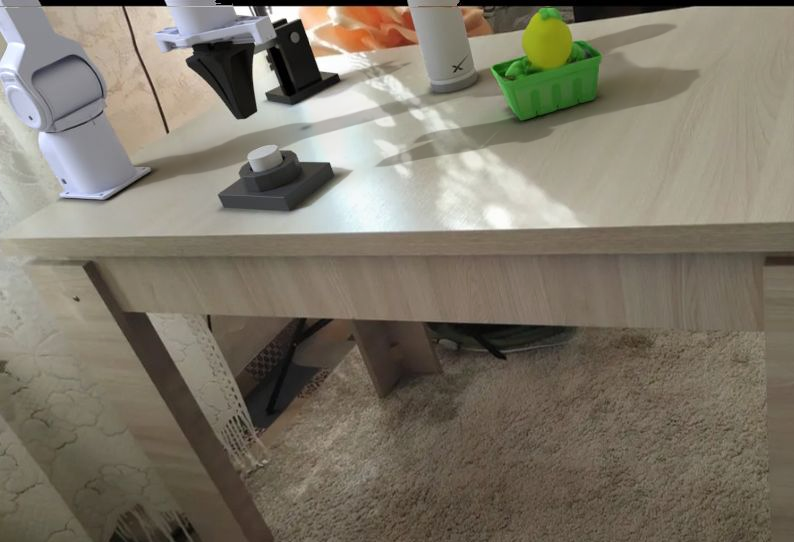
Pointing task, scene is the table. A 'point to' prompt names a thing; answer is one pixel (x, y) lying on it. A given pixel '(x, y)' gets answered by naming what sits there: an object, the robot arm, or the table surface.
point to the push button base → (276, 184)
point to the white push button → (265, 158)
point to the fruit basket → (548, 68)
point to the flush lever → (265, 46)
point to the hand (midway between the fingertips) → (247, 115)
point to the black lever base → (295, 65)
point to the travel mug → (443, 44)
